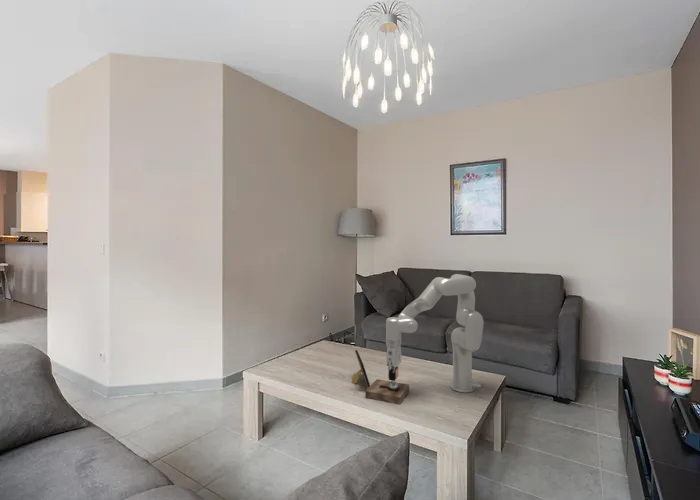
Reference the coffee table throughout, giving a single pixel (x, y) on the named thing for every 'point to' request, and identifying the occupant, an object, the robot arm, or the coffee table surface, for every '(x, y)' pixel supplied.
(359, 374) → the picture frame
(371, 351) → the coffee table surface
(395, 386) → the peg
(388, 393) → the keyhole board
